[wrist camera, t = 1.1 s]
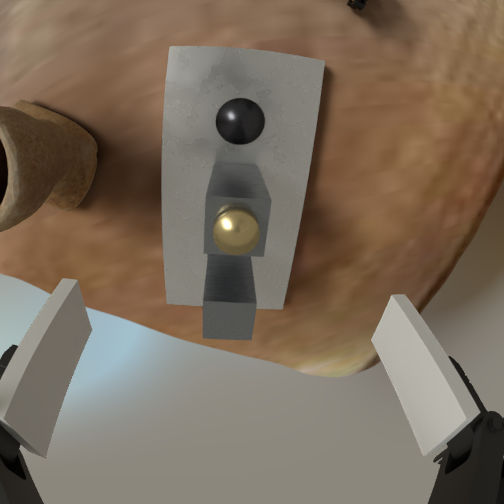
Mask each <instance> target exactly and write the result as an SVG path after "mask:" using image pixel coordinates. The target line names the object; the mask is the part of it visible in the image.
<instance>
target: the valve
mask: <svg viewBox="0 0 504 504" xmlns="http://www.w3.org/2000/svg"><path fill="white" fill-rule="evenodd" d="M366 1H367V0H355V1H352V0H349V1H348V3H347V5H348V6H350V7H351V8H353V9H355V10H356V9H359V10H362V9H363V8H364V7H365V5H366Z"/></svg>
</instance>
